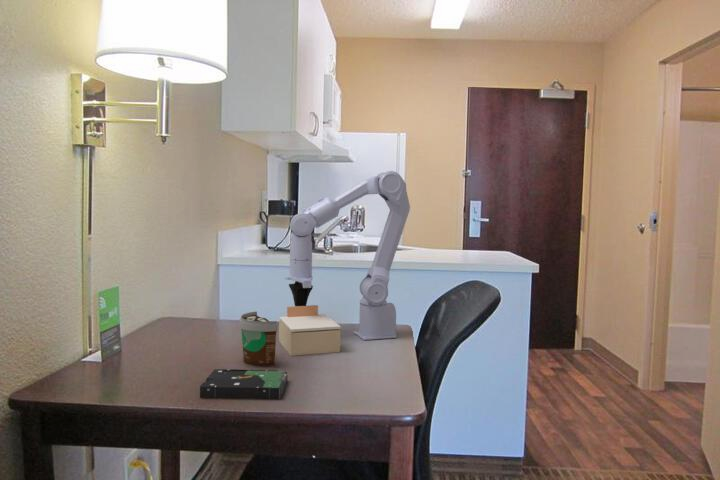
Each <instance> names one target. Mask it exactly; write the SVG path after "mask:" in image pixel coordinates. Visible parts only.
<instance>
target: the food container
mask: <svg viewBox="0 0 720 480" xmlns="http://www.w3.org/2000/svg"><path fill="white" fill-rule="evenodd" d="M277 322H278V321H277V320H273V321H270V320H269V319H267V318H265V317H261V316H259V315H258V311H256V310H255V311H251V312H250V311H249V312H246V313H244V314H241V316H240V318H239V321H238V325H237V326H238V328H239V329H240V330H241V340H242V341H241V342H242V343H241V344H242V354H243V363H244V364H247V365H248V366H253V367H270V366H272V367H273V366H275V361H276V359H275V358H276V346H277V343H276V341H277V332H279V328H278V323H277Z"/></svg>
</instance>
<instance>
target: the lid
mask: <svg viewBox="0 0 720 480" xmlns="http://www.w3.org/2000/svg"><path fill="white" fill-rule="evenodd" d="M278 319H279V320H280V321H281V322H282V323H283V324H284V325H285V326H286V327H287V328H288V329H289V330H290V331H291V332H300V331H315V330H331V329H340V330H342V329H341V328H342V327H341V326H342V325H339V324H338V323H336V322H335V321H334V320H333V319H331V318H330V317H329V316H328V315H326V314H323V313H322V314H319V305H317V304H316V305H315V304H314V305H313V304H311V305H306V306H295V305H294V306H286V316H278Z"/></svg>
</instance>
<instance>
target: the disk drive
mask: <svg viewBox="0 0 720 480" xmlns="http://www.w3.org/2000/svg"><path fill="white" fill-rule="evenodd" d="M288 377H289V376H288V371H286V370H285V371H284V370H278V369H277V370H276V369H269V370H267V369H230V368H229V369H228V368H218V369H217V368H214V369H213V370H212V372H211V373H210V374H209V375H208V376H207V377H206V379H205V382H204V381H203V382H202V383H201V384H200V385H199V398H201V399H236V400H237V399H241V400H242V399H244V400H245V399H248V400H250V399H252V400H253V399H254V400H281V399H282V395H283V394H284V390H285V389H286V386H287V383H288Z"/></svg>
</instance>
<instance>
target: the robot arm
mask: <svg viewBox="0 0 720 480" xmlns="http://www.w3.org/2000/svg"><path fill="white" fill-rule="evenodd" d="M367 195H379V196H380V197H381V198H382V199H383V200H384V202H385V204H386V205H387V207H388V209H389V212H388V216H387V218H386V221H385V224H384V227H383V231H382V232H381V233H382V234H381V237H380V240H379V242H378V246H377V249H376V252H375V254H374V259H373V261H372V263H371V266H370V268H369V269H368V270H367V273H366V275H365V277H364V278H363V279H362V280H361V282H360V284H359V292H360V294H361V295H362V298H361V299H360V300H359V319H358V321H359V324H358V325H359V326H358V329H359V330H355V331H353V333H354V334H355V335H356V336H358V337H359V338H361V339H362V340H364V341H370V340H382V339H394V338H395V339H396V338H397V333H396V332H397V311H396V310H397V309H396V306H395V305H394V304H395V303H392V302H387V299H388V297H389V290H388V289H389V287H388V286H389V281H390V271H391V267H392V264H393V262H394V259H395V255H396V252H397V249H398V246H399V243H400V241H401V237H402V234H403V231H404V228H405V226H406V223H407V222H406V221H407V219H408V216H409V213H410V210H411V205H410V201H409V196H408V191H407V184H406V182H405V180H404V179H403V177H402V176H401V175H400V174H399V173H398V172H397V171H393V170H388V171H386V172H381V173H378V174H377V175H375V176H371V177H369V178H367V179H364V180H362V181H361V182H358V183H356V184H355V185H354V186H352V187H351V188H350V189H347V190H346V191H344V192H343V193H341V194H339V195H338V196H337V197H335V198H331V197H329V196H327V197H324V198H323V197H320V198H318V199H317V202H316V203H314V204H313V205H311V206H309V207H308V208H306V207H304V208H302V209H301V210H302V212H299V213H297V214H295V215H294V216H293V217H291V219H290V223H289V228H290V231H291V233H290V239H291V241H290V243H289V275H285V276H284V277H285V278H284V279H285V280H286V281H287V280H288V281H289V280H290V281H293V282H294V283H289V284H288V287H289V289H290V291H291V293H292V298H293V304H294V306H307V303H308V299H309V296H310V294H311V292H312V289H313V288H314V286H313V285H312V281H313V242H312V232H313V231H314V228H316V229H318V228H319V227H321V226H324V225H325V224H327V223H328V222H330V221H332V220H333V219H336V218H337V217H338V216H339V212H340V210H341V209H343V208H344V207H346V206H348V205H350V204H352V203H353V202H356V201H357V200H359V199H362V198H363V197H364V196H367Z"/></svg>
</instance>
